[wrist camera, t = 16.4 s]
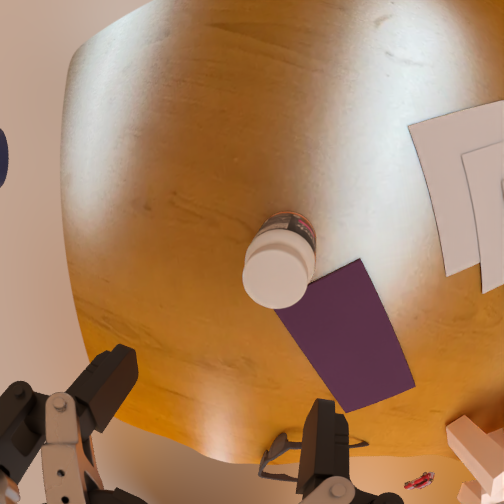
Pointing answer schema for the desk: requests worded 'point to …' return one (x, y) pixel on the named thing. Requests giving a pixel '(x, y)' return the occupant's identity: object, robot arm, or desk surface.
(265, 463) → the sunglasses
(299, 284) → the pill bottle
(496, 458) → the pile of blocks
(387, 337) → the cloth
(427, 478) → the toy car
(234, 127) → the desk surface
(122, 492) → the robot arm
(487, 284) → the paper stack
